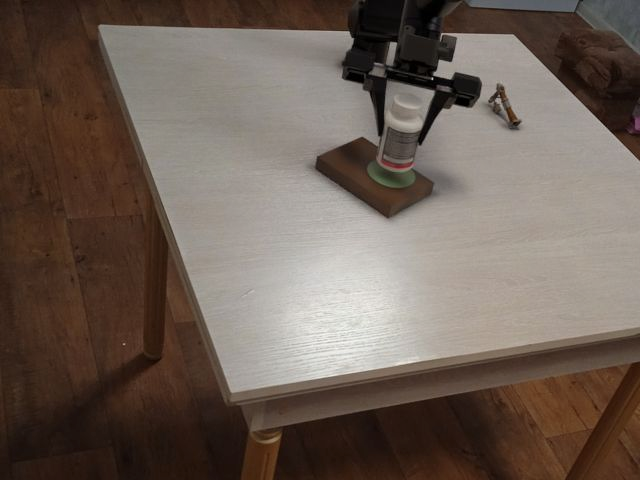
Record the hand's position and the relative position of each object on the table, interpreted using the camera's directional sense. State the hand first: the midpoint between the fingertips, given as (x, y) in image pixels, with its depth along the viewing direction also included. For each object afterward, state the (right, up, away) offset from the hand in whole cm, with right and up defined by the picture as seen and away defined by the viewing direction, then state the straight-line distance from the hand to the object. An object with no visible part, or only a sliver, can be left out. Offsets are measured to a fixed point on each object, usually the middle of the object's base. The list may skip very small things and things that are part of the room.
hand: (399, 140), depth 113 cm
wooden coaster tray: (-4, -4, +7) cm, 9 cm away
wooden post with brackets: (+18, +11, +28) cm, 35 cm away
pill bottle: (-1, -2, +4) cm, 5 cm away
